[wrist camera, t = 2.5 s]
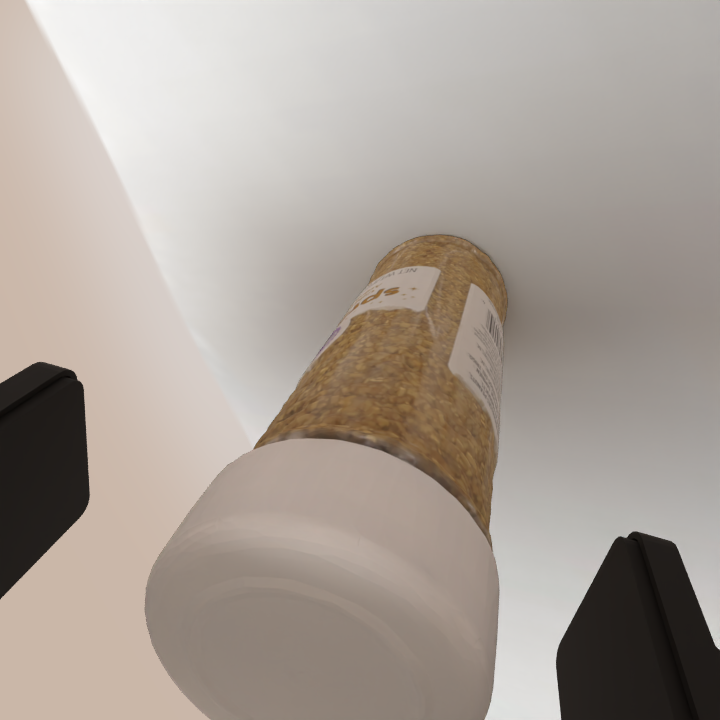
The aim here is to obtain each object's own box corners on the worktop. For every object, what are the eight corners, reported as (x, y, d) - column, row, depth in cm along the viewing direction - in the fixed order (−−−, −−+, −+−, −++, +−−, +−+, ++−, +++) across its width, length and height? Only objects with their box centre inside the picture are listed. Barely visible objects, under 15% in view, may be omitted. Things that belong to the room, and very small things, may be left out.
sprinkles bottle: (384, 216, 18) (125, 478, 6) (529, 252, 17) (554, 621, 5) (358, 344, 20) (131, 720, 8) (486, 380, 19) (437, 841, 8)
